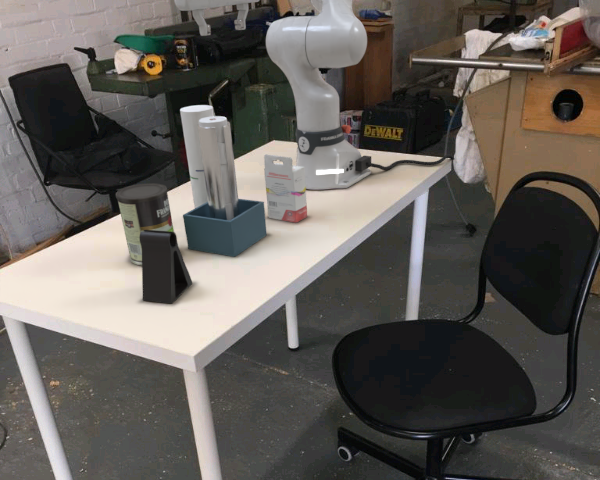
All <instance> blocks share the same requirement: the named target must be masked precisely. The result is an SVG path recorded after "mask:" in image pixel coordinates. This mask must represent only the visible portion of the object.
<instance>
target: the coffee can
mask: <svg viewBox="0 0 600 480" xmlns="http://www.w3.org/2000/svg"><path fill="white" fill-rule="evenodd" d="M115 198H116V200H117V203H118V204H117V205H118V208H119V213H120V217H121V222H122V226H123V227H122V228H123V231H124V236H125V241H126V244H127V250H128V254H129V259H130V262H131V263H132V264H135V265H138V266H142V248H141V244H140V233H141V232H145V231H144V230H155V231H170V232H175V230H174V229H175V228H174V224H173V219H172V212H171V205H170V202H169V201H170V200H169V195H168V187H167V186H166V185H165V184H162V183H161V184H160V183H152V182H151V183H150V182H149V183H139V184H138V183H137V184H133V185H129V186H128V185H127V186H125V187H123V188H120V189H119V190H118V191H117V192H115Z"/></svg>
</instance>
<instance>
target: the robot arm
mask: <svg viewBox="0 0 600 480" xmlns="http://www.w3.org/2000/svg"><path fill="white" fill-rule="evenodd" d="M353 1H354V0H309V2H310V4H311V6H313V8H314V9H315V10H316V11H317V12H318V14H316V15H300V16H299V15H298V16H297V15H296V16H295V15H294V16H287V17H283V18H280V19H277V20H274V21H273V22H271V24H270V25H269V27H268V29H267V31H266V36H265V49H266V52H267V55H268V56H269V58H270V60H271V62H273V63H274V64H275V65H276V66H277V67H278V68H279V69H280V70H281V71H282V73H283V74H284V76H285V77H286V79H287V81H288V83H289V85H290V87H291V90H292V94H293V97H294V103H295V104H294V105H295V115H296V128H295V142H296V145H297V146H296V154H295V155H296V156H295V166H301V167H304V168H305V184H306V190H315V191H317V190H330V189H331V190H332V189H348V188H350V187H351V186H353V185H354V184H356V183H358V182H360V181H361V180H363V179H364V178H366V177H368V176H370V175H371V174H372V170H371V169H370V168H376V169H380V170H382V171H389V170H391V169H393V168H394V167H395V166H398V165H401V164H403V165H404V164H413V165H419V166H437V165H440V164H441V163H443V162H444V161H445V160H446V159H449V160H451V161H452V160H453V161H454V160H455V157H454V156H453V155H452V154H449V153H447V154H445V155H444V156H442V157H441V158H440V159H438V160H436V161H435V160H434V161H422V160H415V159H400V160H396V161H393V162H392V163H391V164H390V165H387V166H384V165H381V164H378V163H374V162H373V163H372V155H362V153H361V151H360V150H359V149H358V148H357V147H356V146H353V144H351V143H350V142H348V141H347V140H346V137H345V134H350V133H351V131H352V126H351V125H350V124H347V125H346V124H342V125H341V123H340V122H341V121H340V120H341V119H340V118H341V117H340V116H341V115H340V96H339V93H338V91H337V89H336V88H335V87H334V86H333V85H331V84H330V83H328V82H327V81H325V80H324V78H323V77H322V75H321V72H320V69H341V68H346V67H351V66H355V65H357V64H359V63H360V62H361V60H362V59H363V58H364V56H365V53H366V51H367V46H368V36H367V35H368V34H367V30H366V29H365V26H364V24H363V22H361V20H360V19H359V18H358V17H357V16H356V15H355V13H354V11H353ZM173 2H174V5H175V7H176V8H177V9H178V10H179V11H184V12H185V11H191V13H192V17H193V19H194V21H195V22H196V24H197V25H198V29H199V34H200V35H199V36H200V37H206V36H211V35H212V30H211V24H207V22H206V20H205V18H204V16H205V9H213V8H219V7H220V8H221V7H227V6H228V7H229V6H235V5H236V10H237V11H238V13H237V18H236V19H234V22H233V23H234V29H235V31H242V30H243V31H244V30H246V29H247V26H246V19H247V16H248V14H249V13H248V12H249V4H250V3H259V2H260V0H173ZM344 133H345V134H344Z"/></svg>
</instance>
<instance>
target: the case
mask: <svg viewBox="0 0 600 480" xmlns="http://www.w3.org/2000/svg"><path fill="white" fill-rule="evenodd" d="M238 200H239V209H240V215H238V216H237V217H235V218H233V219H232V220H230V221H229V220H222V219H215V218H210V211H209V204H208V202H206V203H204V204H202V205H200V206H199V207H197V208H195V207H194V208H193V209H191V210H189V211H187V212H186V213H184V214H182V218H183V226H184V232H185V237H186V238H185V239H186V244H187V249H188V250H193V251H197V252H198V251H199V252H204V253H209V254H217V255H221V256H227V257H233V258H235V257H237V256H239V255H240V254H241V253H243V252H244V251H246V250H247V249H248V248H250V247H252V246H253V245H255V244H256V243H257V242H259V241H260V240H262V239H263V238H265V237H266V236H267V234H268V233H267V221H266V213H265V212H266V211H265V210H266V209H265V201H262V200H253V199H245V198H238Z"/></svg>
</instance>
